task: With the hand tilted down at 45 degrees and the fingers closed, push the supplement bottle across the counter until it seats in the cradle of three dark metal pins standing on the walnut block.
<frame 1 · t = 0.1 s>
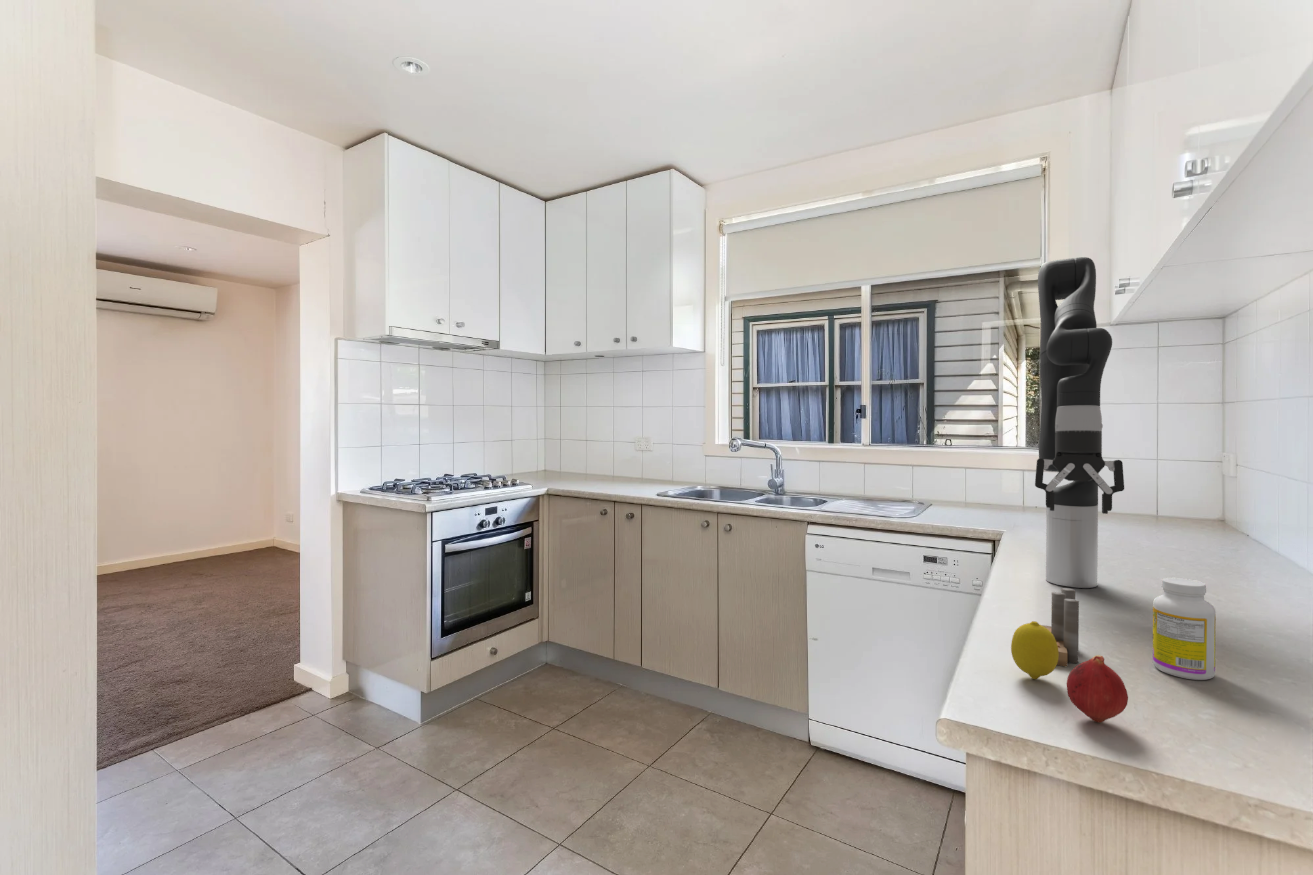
hand: (1077, 511, 118), 17 cm above the worktop, tool pointing down, fingers open, 8 cm apart
onion: (1096, 723, 71), on the worktop
lemon: (1034, 680, 83), on the worktop
supplement bottle: (1182, 673, 84), on the worktop
pin block: (1047, 650, 93), on the worktop
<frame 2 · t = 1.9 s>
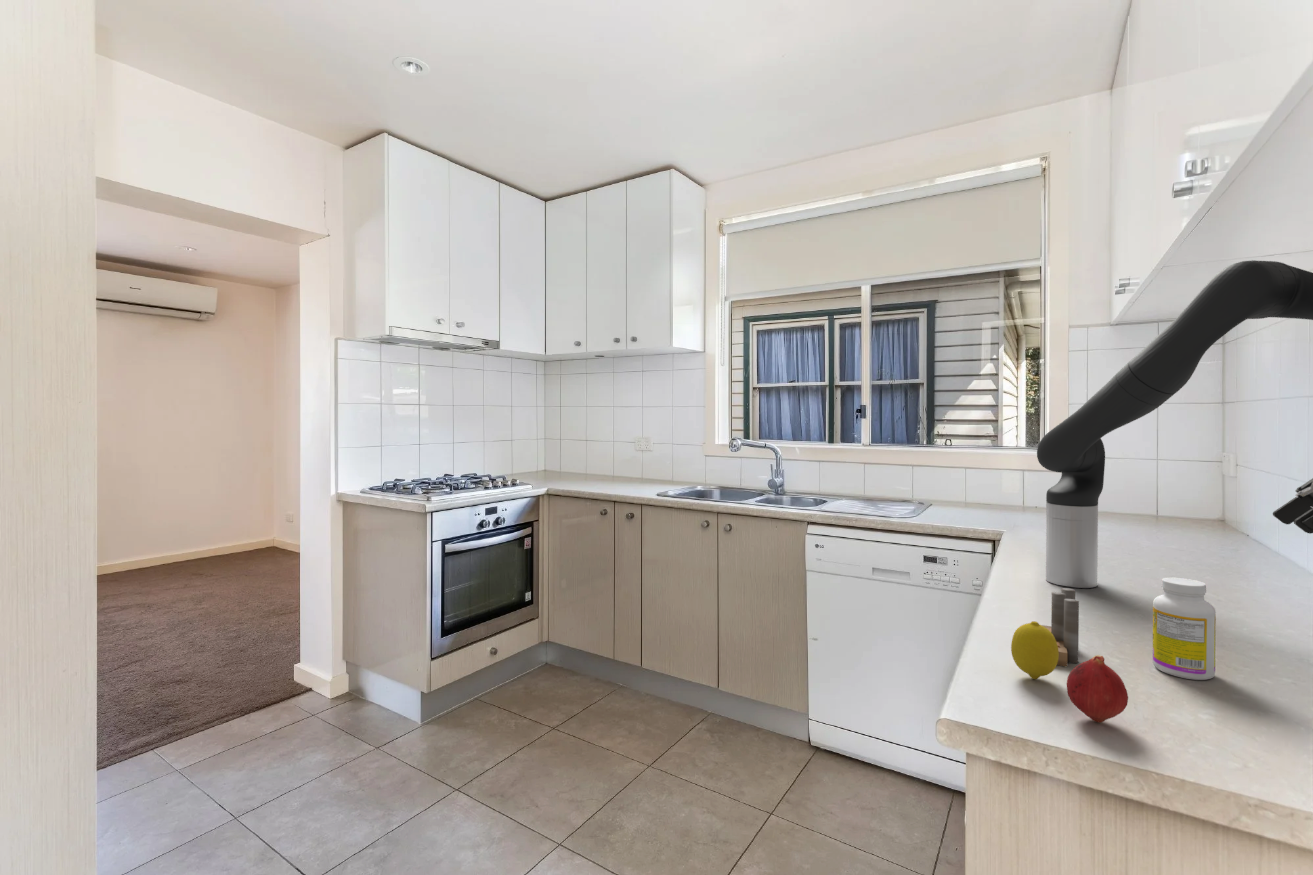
hand: (1289, 523, 83), 21 cm above the worktop, tool tilted 45°, fingers open, 7 cm apart
nothing on the worktop moved.
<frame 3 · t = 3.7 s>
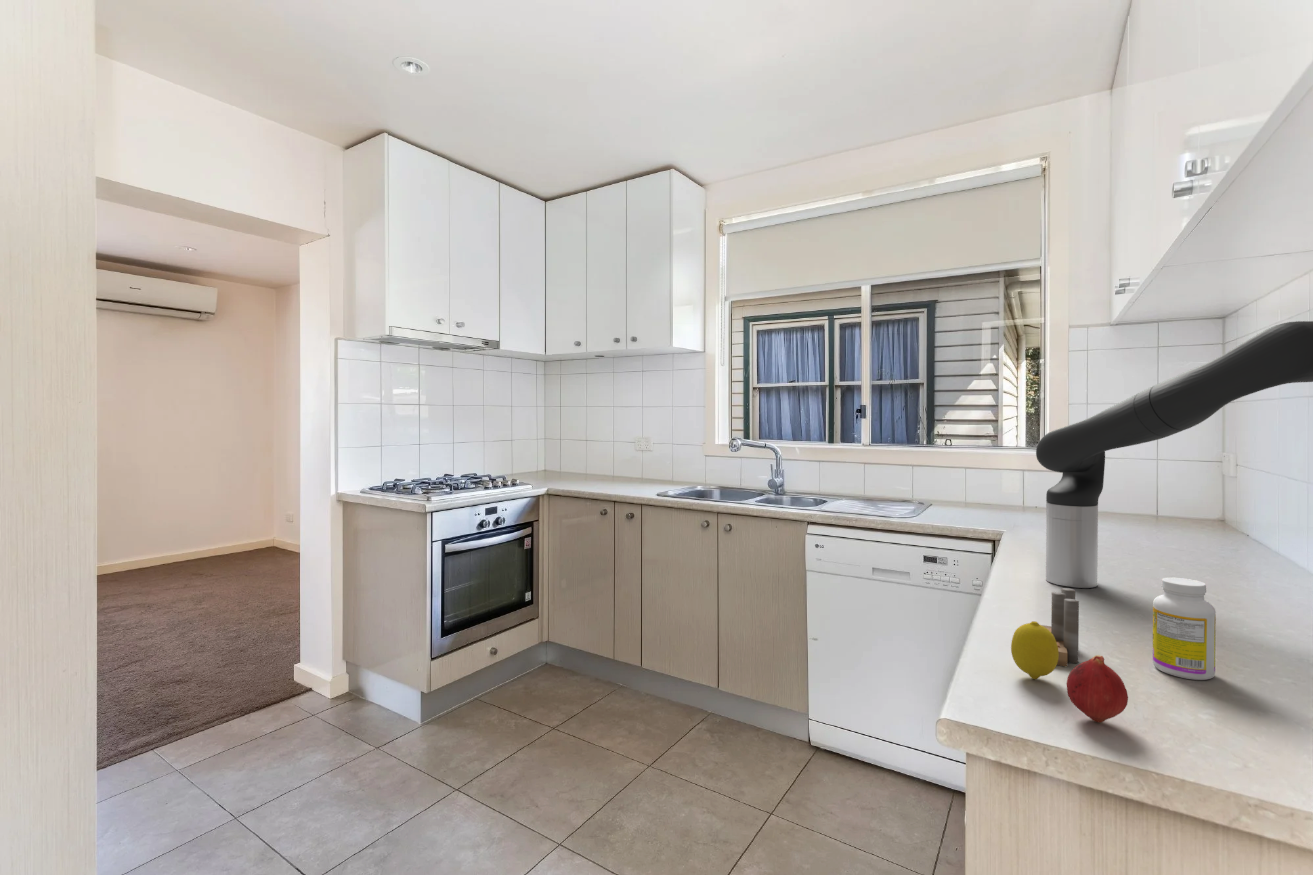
nothing on the worktop moved.
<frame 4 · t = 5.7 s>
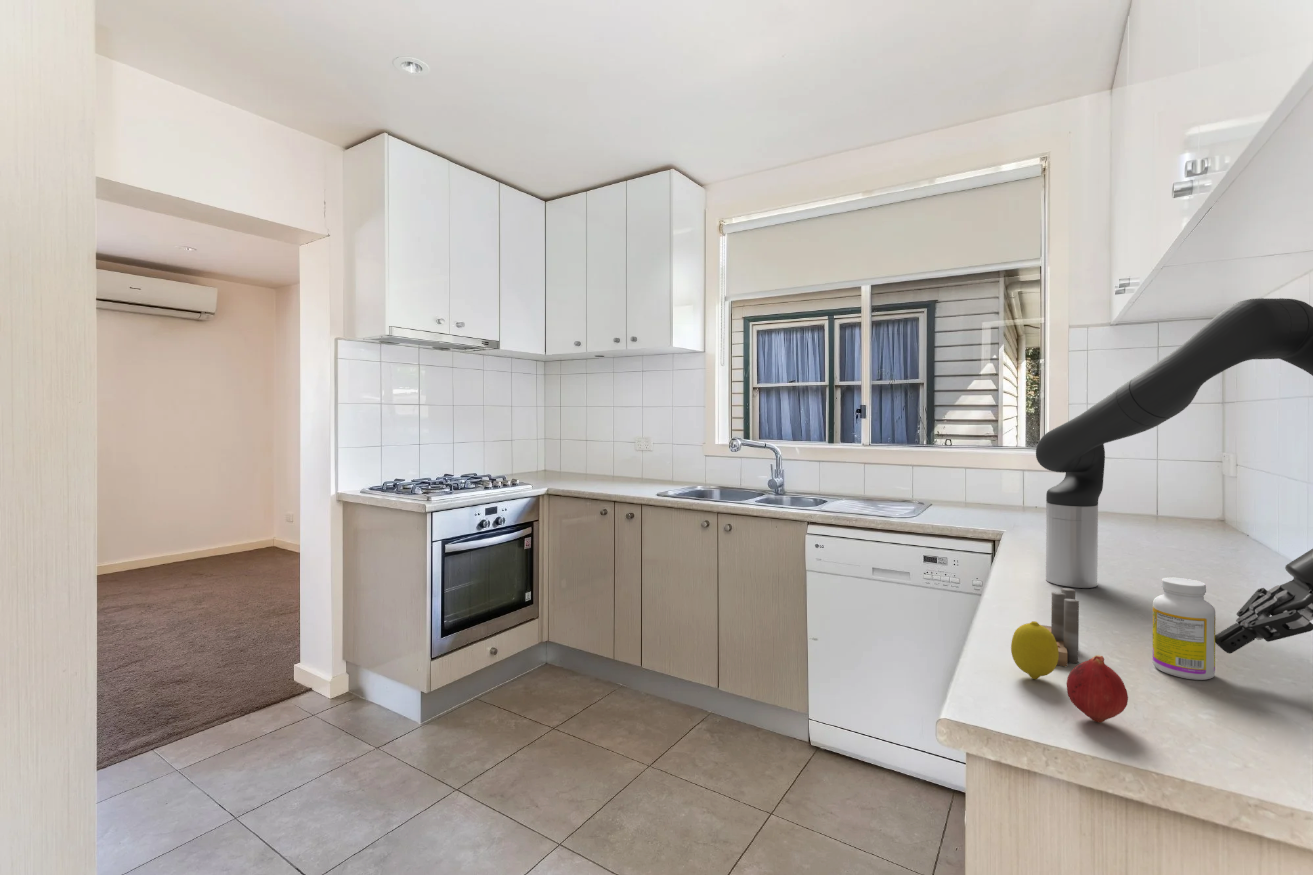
hand: (1219, 646, 82), 4 cm above the worktop, tool tilted 45°, fingers closed
supplement bottle: (1182, 673, 84), on the worktop, touching gripper
everything else where it was.
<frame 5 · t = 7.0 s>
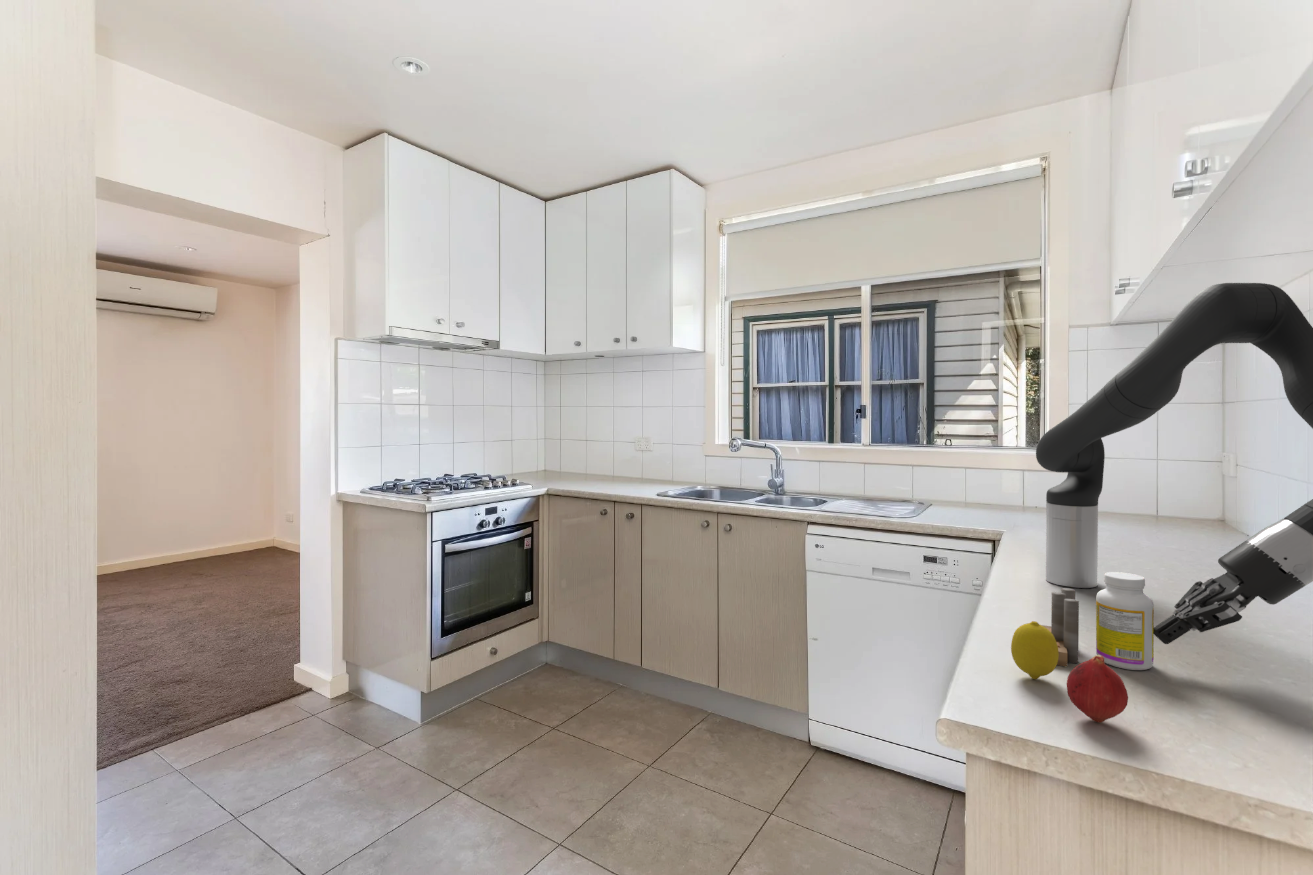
hand: (1158, 637, 86), 4 cm above the worktop, tool tilted 45°, fingers closed
supplement bottle: (1123, 663, 88), on the worktop, touching gripper
everything else where it was.
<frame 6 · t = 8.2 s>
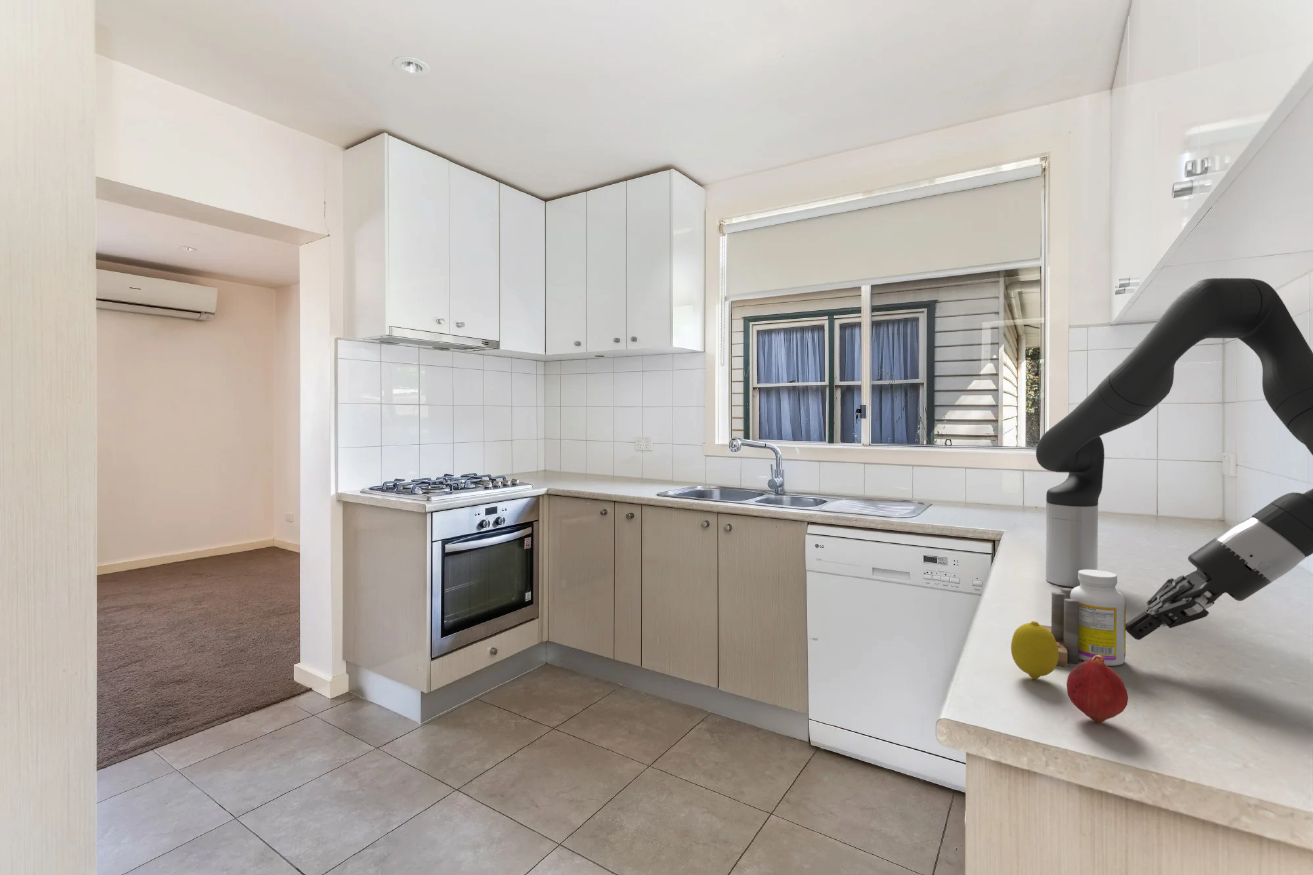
hand: (1130, 633, 87), 4 cm above the worktop, tool tilted 45°, fingers closed
supplement bottle: (1097, 659, 89), on the worktop, touching gripper
everything else where it was.
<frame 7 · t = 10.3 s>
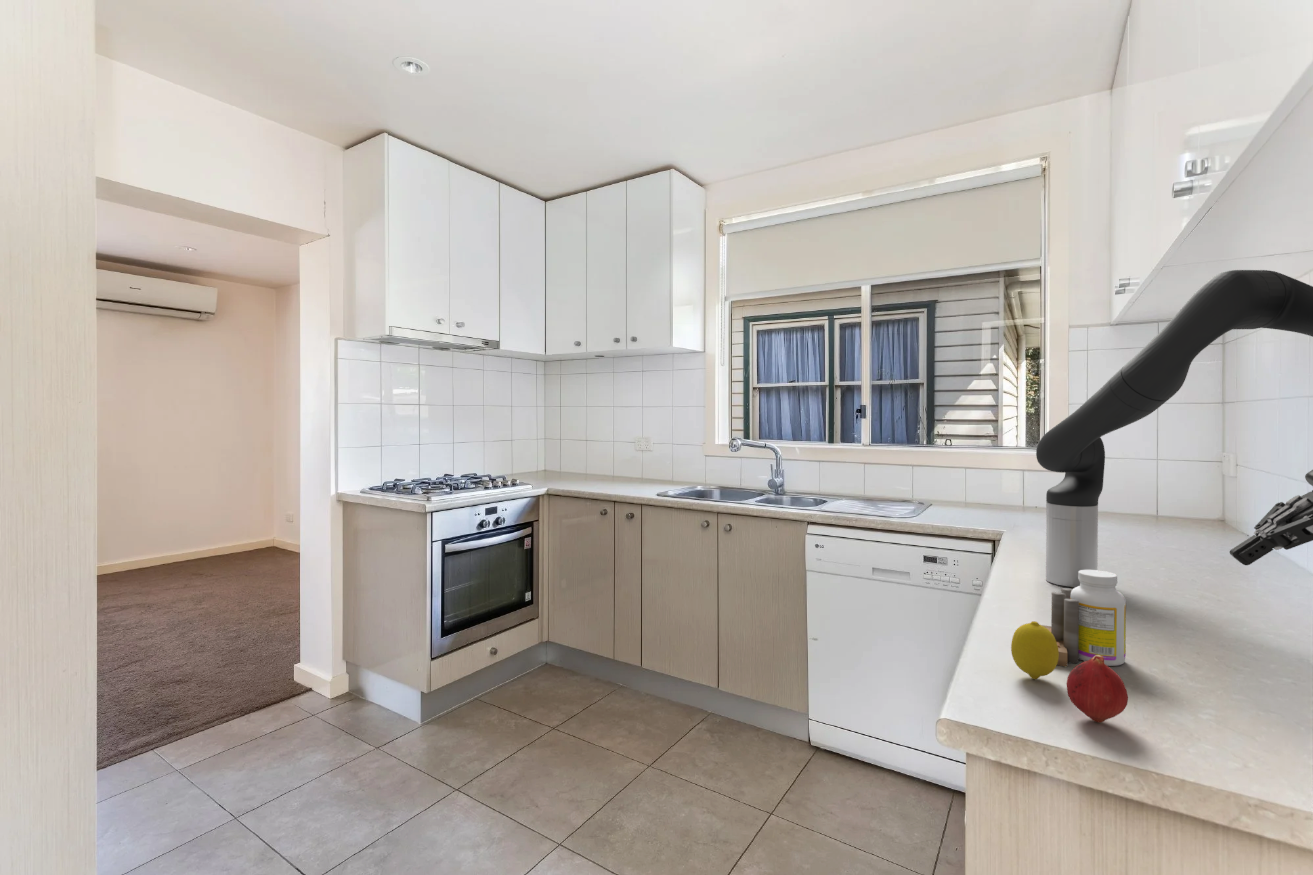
hand: (1236, 559, 81), 17 cm above the worktop, tool tilted 45°, fingers closed
supplement bottle: (1097, 659, 89), on the worktop
everything else where it was.
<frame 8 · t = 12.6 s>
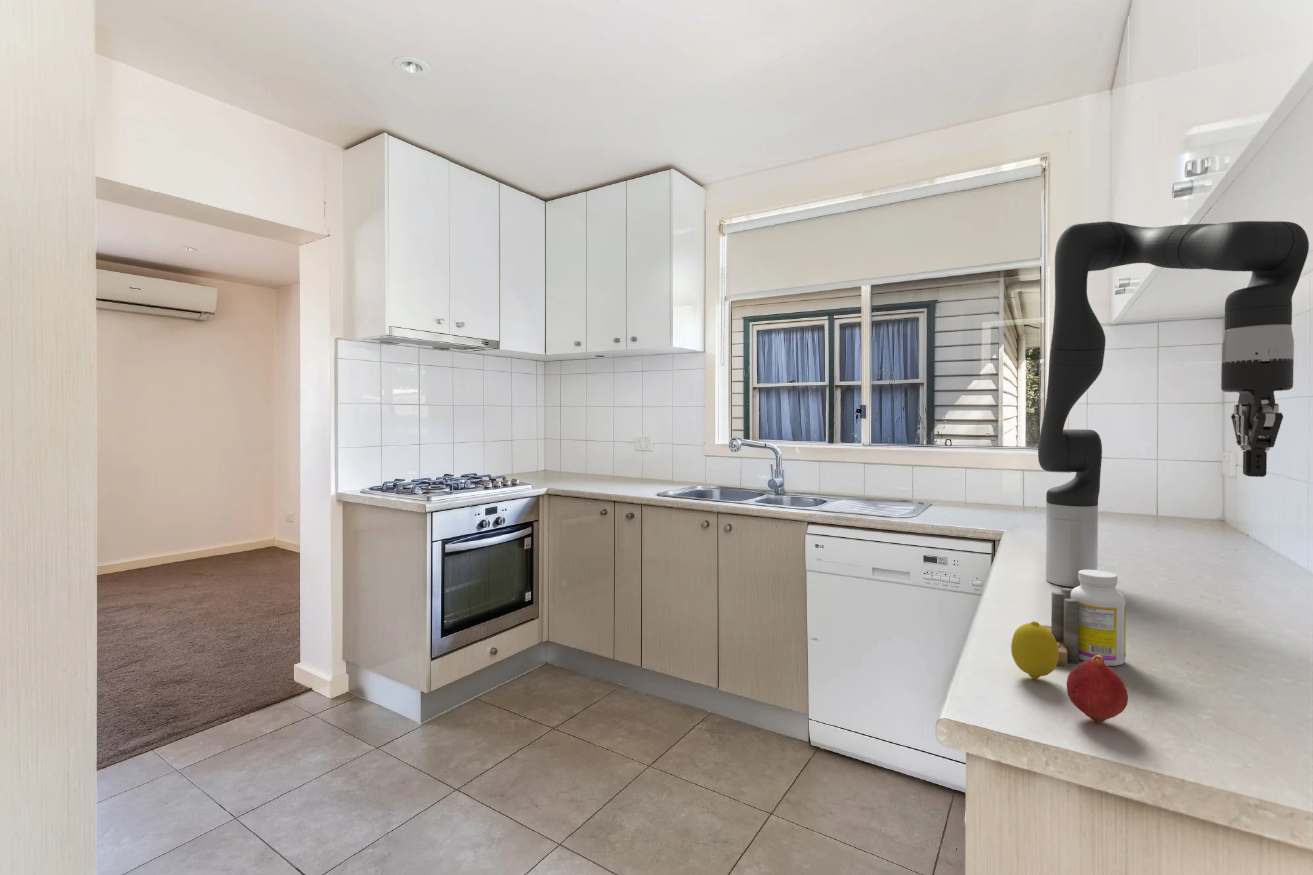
hand: (1254, 476, 89), 27 cm above the worktop, tool pointing down, fingers closed
nothing on the worktop moved.
at the end: supplement bottle inside the target area (0.4 cm from its centre), on the worktop; supplement bottle tilted 0°; supplement bottle moved 9.8 cm from its start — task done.
